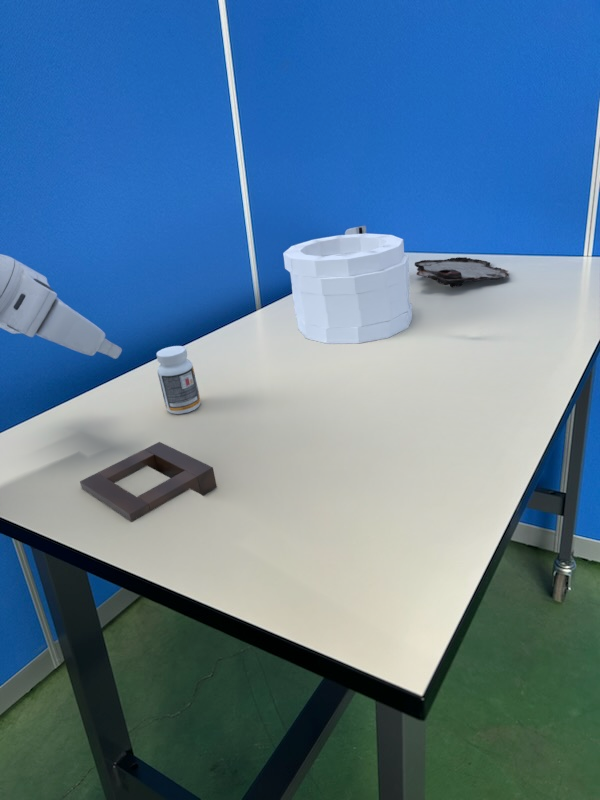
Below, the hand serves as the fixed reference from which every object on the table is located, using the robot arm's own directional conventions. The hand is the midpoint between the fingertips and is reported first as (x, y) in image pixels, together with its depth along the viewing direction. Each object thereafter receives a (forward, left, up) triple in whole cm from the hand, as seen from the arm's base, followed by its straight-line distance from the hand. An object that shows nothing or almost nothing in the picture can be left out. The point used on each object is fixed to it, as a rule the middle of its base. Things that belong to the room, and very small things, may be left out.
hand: (107, 346), depth 91 cm
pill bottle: (+9, -2, -14) cm, 17 cm away
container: (+54, 0, -14) cm, 56 cm away
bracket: (+77, +16, -14) cm, 80 cm away
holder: (-9, -20, -14) cm, 25 cm away
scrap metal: (+92, -3, -14) cm, 93 cm away
